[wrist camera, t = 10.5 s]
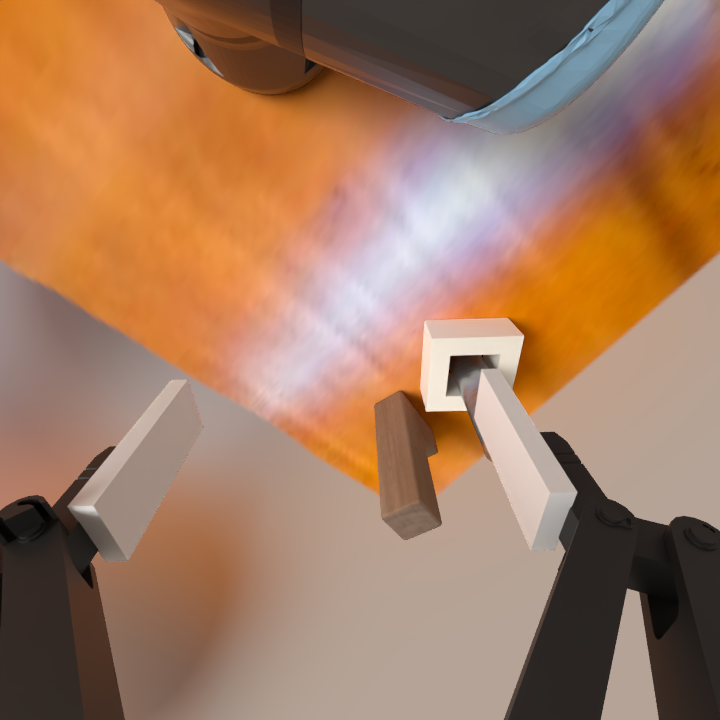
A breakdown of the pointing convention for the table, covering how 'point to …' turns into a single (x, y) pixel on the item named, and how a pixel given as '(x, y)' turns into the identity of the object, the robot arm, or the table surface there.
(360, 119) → the table surface
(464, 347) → the socket
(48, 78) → the table surface
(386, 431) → the wooden block
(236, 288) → the table surface
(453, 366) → the peg
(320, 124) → the table surface
